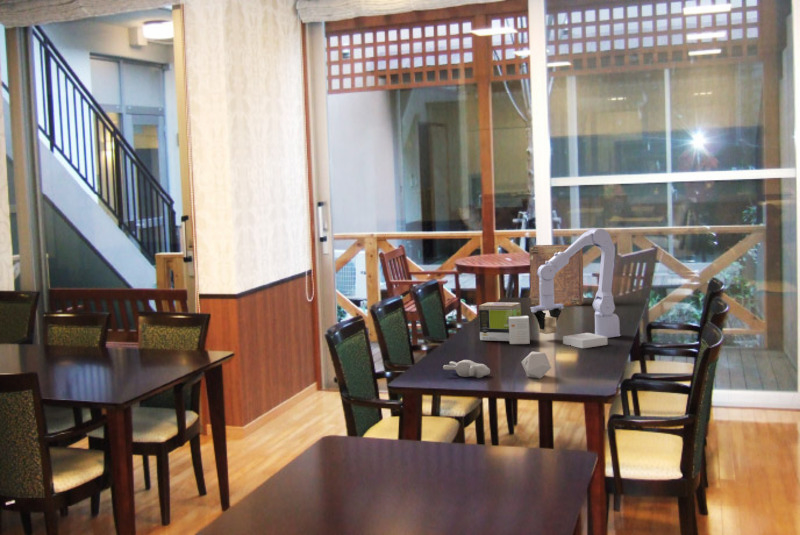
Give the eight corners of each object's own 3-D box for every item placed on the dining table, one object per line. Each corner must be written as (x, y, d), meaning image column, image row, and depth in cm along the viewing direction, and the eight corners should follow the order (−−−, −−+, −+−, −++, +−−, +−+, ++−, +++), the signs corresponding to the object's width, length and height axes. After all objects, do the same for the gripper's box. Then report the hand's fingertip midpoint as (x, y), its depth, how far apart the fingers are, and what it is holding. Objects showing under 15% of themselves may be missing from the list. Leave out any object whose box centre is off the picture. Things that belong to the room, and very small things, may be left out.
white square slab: (587, 340, 352) (587, 332, 352) (607, 344, 342) (607, 336, 341) (563, 343, 347) (563, 336, 347) (582, 348, 336) (582, 340, 336)
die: (525, 375, 299) (513, 355, 294) (547, 361, 299) (536, 340, 294) (535, 389, 292) (524, 368, 287) (558, 374, 292) (547, 353, 287)
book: (530, 305, 451) (528, 246, 448) (534, 302, 460) (533, 245, 457) (580, 306, 442) (579, 246, 439) (583, 303, 450) (582, 244, 447)
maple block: (549, 330, 359) (548, 316, 359) (556, 332, 355) (556, 317, 354) (539, 332, 357) (538, 317, 356) (546, 334, 352) (546, 319, 352)
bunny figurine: (483, 368, 291) (441, 360, 297) (482, 383, 292) (440, 375, 298) (493, 362, 300) (452, 355, 306) (492, 377, 300) (451, 369, 307)
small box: (529, 341, 355) (528, 315, 354) (529, 344, 349) (529, 317, 348) (509, 341, 356) (508, 315, 355) (509, 344, 350) (508, 318, 349)
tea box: (522, 337, 363) (521, 302, 361) (514, 342, 354) (513, 305, 352) (488, 336, 370) (487, 301, 368) (479, 340, 361) (477, 304, 359)
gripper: (555, 291, 361) (556, 324, 362) (526, 295, 355) (527, 329, 356) (566, 293, 355) (567, 327, 356) (536, 297, 348) (537, 331, 350)
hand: (547, 328), depth 356 cm, fingers closed on maple block, 5 cm apart
